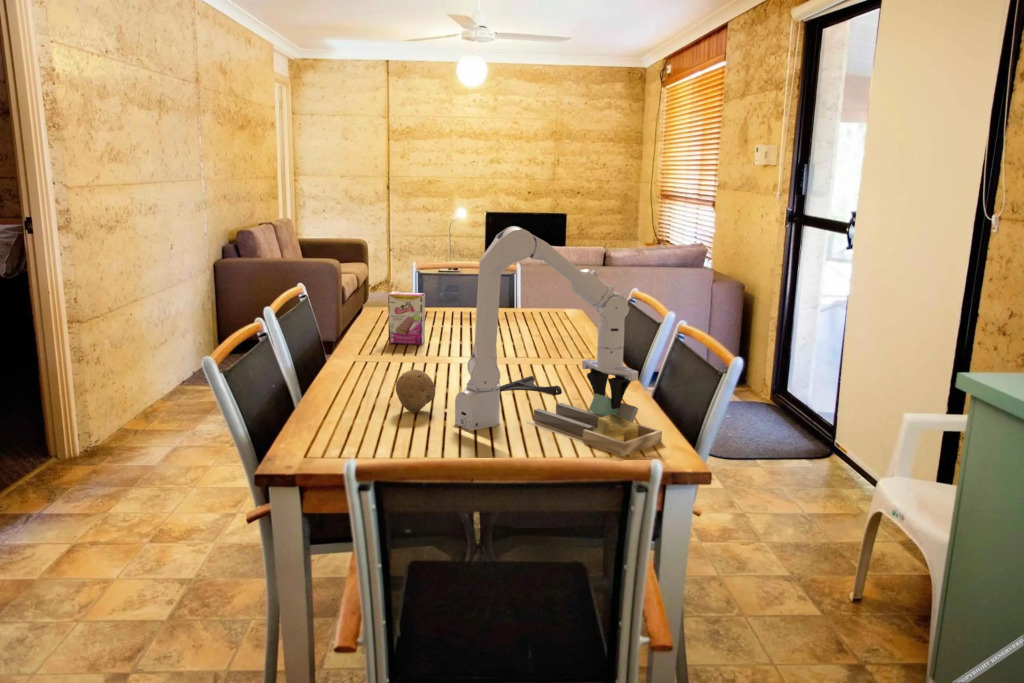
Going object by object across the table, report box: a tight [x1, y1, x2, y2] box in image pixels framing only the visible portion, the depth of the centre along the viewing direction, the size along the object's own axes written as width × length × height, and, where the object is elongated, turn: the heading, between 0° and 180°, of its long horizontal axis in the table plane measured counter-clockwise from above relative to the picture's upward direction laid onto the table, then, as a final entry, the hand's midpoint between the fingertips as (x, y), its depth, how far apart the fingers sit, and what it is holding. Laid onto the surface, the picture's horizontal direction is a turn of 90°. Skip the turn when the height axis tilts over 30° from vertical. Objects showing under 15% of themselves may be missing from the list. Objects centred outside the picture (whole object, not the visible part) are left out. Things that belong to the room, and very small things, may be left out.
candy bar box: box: [387, 291, 426, 346], centre depth 249 cm, size 11×5×16 cm, turn 84°
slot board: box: [526, 402, 663, 457], centre depth 164 cm, size 13×27×4 cm, turn 43°
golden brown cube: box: [597, 415, 626, 437], centre depth 161 cm, size 4×4×4 cm
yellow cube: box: [610, 420, 639, 442], centre depth 158 cm, size 4×4×4 cm
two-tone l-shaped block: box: [588, 393, 639, 422], centre depth 171 cm, size 5×8×6 cm
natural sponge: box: [395, 368, 436, 414], centre depth 178 cm, size 9×9×10 cm
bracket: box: [500, 375, 563, 396], centre depth 200 cm, size 14×15×3 cm
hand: (607, 405), depth 173 cm, fingers closed on two-tone l-shaped block, 4 cm apart
